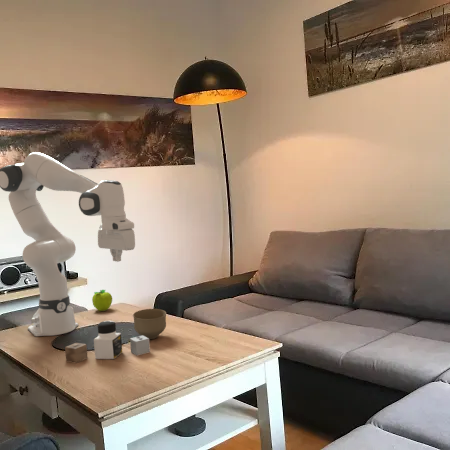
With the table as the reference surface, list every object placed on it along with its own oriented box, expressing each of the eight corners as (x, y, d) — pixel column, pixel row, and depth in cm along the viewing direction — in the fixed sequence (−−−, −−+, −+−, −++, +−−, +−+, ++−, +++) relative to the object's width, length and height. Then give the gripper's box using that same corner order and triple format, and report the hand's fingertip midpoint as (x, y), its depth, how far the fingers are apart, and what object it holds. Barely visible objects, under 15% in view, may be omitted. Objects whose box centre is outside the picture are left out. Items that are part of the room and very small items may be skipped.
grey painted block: (131, 352, 175) (129, 337, 174) (143, 348, 178) (142, 334, 177) (136, 355, 171) (135, 341, 170) (149, 352, 173) (148, 337, 173)
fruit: (89, 312, 235) (87, 292, 234) (100, 307, 244) (98, 287, 243) (106, 313, 232) (104, 292, 231) (116, 308, 241) (114, 288, 240)
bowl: (144, 345, 181) (142, 319, 180) (129, 338, 191) (127, 312, 190) (173, 337, 188) (172, 312, 187) (158, 330, 198) (156, 306, 198)
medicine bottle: (114, 359, 168) (111, 325, 167) (94, 359, 169) (92, 325, 168) (122, 352, 175) (120, 319, 174) (104, 352, 176) (101, 319, 175)
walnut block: (66, 361, 169) (65, 346, 169) (77, 356, 174) (76, 342, 173) (76, 363, 167) (75, 348, 166) (87, 358, 171) (86, 343, 171)
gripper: (92, 224, 187) (95, 260, 188) (121, 225, 172) (124, 264, 174) (106, 222, 191) (109, 258, 193) (136, 223, 177) (139, 261, 178)
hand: (117, 261), depth 183 cm, fingers closed
